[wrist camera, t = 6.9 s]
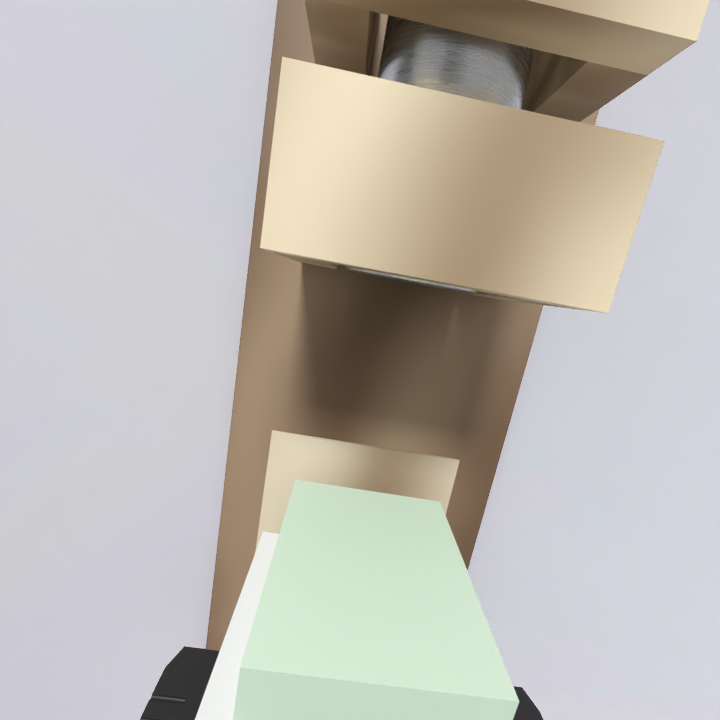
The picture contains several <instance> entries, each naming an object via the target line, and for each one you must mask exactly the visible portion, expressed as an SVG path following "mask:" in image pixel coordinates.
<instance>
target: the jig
mask: <svg viewBox="0 0 720 720" xmlns="http://www.w3.org/2000/svg"><path fill="white" fill-rule="evenodd" d="M709 2H710V0H278V3H277V12H276V21H275V30H274V39H273V48H272V58H271V67H270V76H269V85H268V94H267V103H266V112H265V121H264V130H263V139H262V148H261V157H260V166H259V175H258V184H257V193H256V202H255V211H254V220H253V229H252V238H251V247H250V256H249V265H248V274H247V283H246V292H245V301H244V310H243V319H242V328H241V337H240V346H239V355H238V364H237V373H236V382H235V391H234V401H233V410H232V419H231V428H230V437H229V446H228V455H227V464H226V473H225V482H224V491H223V500H222V509H221V518H220V527H219V536H218V545H217V554H216V563H215V572H214V581H213V590H212V599H211V608H210V617H209V626H208V635H207V644H206V649H208V650H216V651H220V649H221V646H222V643H223V641H224V638H225V635H226V632H227V630H228V627H229V624H230V621H231V619H232V616H233V613H234V610H235V608H236V605H237V602H238V599H239V597H240V594H241V591H242V588H243V586H244V583H245V580H246V577H247V575H248V572H249V569H250V566H251V563H252V561H253V558H254V555H255V552H256V550H257V547H258V544H259V541H260V539H261V536H262V533H263V532H269V533H276V534H279V533H280V530H281V526H282V523H283V519H284V516H285V513H286V509H287V506H288V502H289V499H290V496H291V492H292V489H293V485H294V482H295V480H302V481H309V482H315V483H322V484H328V485H335V486H341V487H348V488H354V489H361V490H367V491H374V492H381V493H387V494H394V495H400V496H407V497H413V498H420V499H426V500H433V501H439V502H440V503H441V505H442V508H443V510H444V513H445V515H446V518H447V520H448V523H449V525H450V528H451V531H452V533H453V536H454V538H455V541H456V543H457V546H458V548H459V551H460V553H461V556H462V558H463V561H464V563H465V566H466V568H467V570H468V566H469V563H470V559H471V556H472V552H473V549H474V545H475V542H476V538H477V535H478V531H479V528H480V524H481V521H482V517H483V514H484V510H485V507H486V503H487V500H488V496H489V493H490V489H491V486H492V482H493V479H494V475H495V472H496V468H497V465H498V461H499V458H500V454H501V451H502V447H503V444H504V440H505V437H506V433H507V430H508V426H509V423H510V419H511V416H512V412H513V409H514V405H515V402H516V398H517V395H518V391H519V388H520V384H521V381H522V377H523V374H524V370H525V367H526V363H527V360H528V356H529V353H530V349H531V346H532V342H533V339H534V335H535V332H536V328H537V325H538V321H539V318H540V314H541V311H542V307H543V305H547V306H555V307H563V308H571V309H579V310H587V311H595V312H603V313H608V312H609V309H610V306H611V303H612V300H613V297H614V294H615V291H616V287H617V284H618V281H619V278H620V275H621V272H622V269H623V266H624V263H625V260H626V257H627V254H628V251H629V248H630V244H631V241H632V238H633V235H634V232H635V229H636V226H637V223H638V220H639V217H640V214H641V211H642V208H643V205H644V201H645V198H646V195H647V192H648V189H649V186H650V183H651V180H652V177H653V174H654V171H655V168H656V165H657V161H658V158H659V155H660V152H661V149H662V146H663V143H664V141H662V140H658V139H653V138H649V137H644V136H640V135H635V134H631V133H626V132H622V131H617V130H612V129H608V128H603V127H599V126H594V125H595V122H596V118H597V115H598V111H599V109H600V108H601V107H602V106H604V105H605V104H607V103H608V102H610V101H611V100H613V99H614V98H615V97H617V96H618V95H620V94H621V93H623V92H624V91H625V90H627V89H628V88H630V87H631V86H633V85H634V84H636V83H637V82H638V81H640V80H641V79H643V78H644V77H646V76H647V75H649V74H650V73H651V72H653V71H654V70H656V69H657V68H659V67H660V66H661V65H663V64H664V63H666V62H667V61H669V60H670V59H672V58H673V57H674V56H676V55H677V54H679V53H680V52H682V51H683V50H685V49H686V48H687V47H689V46H690V45H692V44H693V43H695V42H696V41H697V39H698V35H699V32H700V29H701V26H702V23H703V20H704V17H705V14H706V11H707V8H708V5H709ZM388 15H390V16H394V17H398V18H403V19H407V20H411V21H415V22H420V23H424V24H428V25H433V26H437V27H441V28H446V29H450V30H454V31H459V32H463V33H467V34H471V35H476V36H480V37H484V38H489V39H493V40H497V41H502V42H506V43H510V44H515V45H519V46H523V47H527V48H532V49H536V51H535V55H534V59H533V63H532V68H531V72H530V76H529V80H528V84H527V88H526V92H525V96H524V100H523V104H522V108H521V109H517V108H513V107H508V106H504V105H499V104H495V103H490V102H486V101H481V100H477V99H472V98H468V97H463V96H459V95H454V94H449V93H445V92H440V91H436V90H431V89H427V88H422V87H418V86H413V85H409V84H404V83H400V82H395V81H391V80H386V79H382V78H378V73H379V67H380V61H381V55H382V49H383V43H384V37H385V31H386V25H387V19H388ZM346 266H348V267H353V268H359V269H364V270H369V271H375V272H380V273H386V274H391V275H396V276H402V277H407V278H412V279H418V280H423V281H428V282H434V283H439V284H444V285H450V286H455V287H460V288H466V289H471V290H476V291H477V292H476V293H468V292H461V291H454V290H448V289H442V288H436V287H430V286H424V285H419V284H413V283H408V282H402V281H397V280H392V279H386V278H381V277H376V276H371V275H367V274H362V273H357V272H353V271H349V270H346Z"/></svg>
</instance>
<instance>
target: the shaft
mask: <svg viewBox="0 0 720 720" xmlns="http://www.w3.org/2000/svg"><path fill="white" fill-rule="evenodd" d="M535 51H536V49H532V48H527V47H523V46H519V45H515V44H510V43H506V42H502V41H497V40H493V39H489V38H484V37H480V36H476V35H471V34H467V33H463V32H459V31H454V30H450V29H446V28H441V27H437V26H433V25H428V24H424V23H420V22H415V21H411V20H407V19H403V18H398V17H394V16H390V15H388V19H387V25H386V31H385V37H384V43H383V49H382V55H381V61H380V67H379V73H378V78H382V79H386V80H391V81H395V82H400V83H404V84H409V85H413V86H418V87H422V88H427V89H431V90H436V91H440V92H445V93H449V94H454V95H459V96H463V97H468V98H472V99H477V100H481V101H486V102H490V103H495V104H499V105H504V106H508V107H513V108H517V109H521V108H522V104H523V100H524V96H525V92H526V88H527V84H528V80H529V76H530V72H531V68H532V63H533V59H534V55H535ZM346 270H349V271H353V272H357V273H362V274H367V275H371V276H376V277H381V278H386V279H392V280H397V281H402V282H408V283H413V284H419V285H424V286H430V287H436V288H442V289H448V290H454V291H461V292H468V293H476V292H477V291H476V290H471V289H466V288H460V287H455V286H450V285H444V284H439V283H434V282H428V281H423V280H418V279H412V278H407V277H402V276H396V275H391V274H386V273H380V272H375V271H369V270H364V269H359V268H353V267H348V266H346Z"/></svg>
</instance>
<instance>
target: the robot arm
mask: <svg viewBox="0 0 720 720" xmlns="http://www.w3.org/2000/svg"><path fill="white" fill-rule="evenodd" d="M278 536H279V534H276V533H269V532H263V533H262V536H261V539H260V541H259V544H258V547H257V550H256V552H255V555H254V558H253V561H252V563H251V566H250V569H249V572H248V575H247V577H246V580H245V583H244V586H243V588H242V591H241V594H240V597H239V599H238V602H237V605H236V608H235V610H234V613H233V616H232V619H231V621H230V624H229V627H228V630H227V632H226V635H225V638H224V641H223V643H222V646H221V649H220V651H216V650H208V649H200V648H192V647H184V648H183V649H182V650H181V651H180V652H179V653H178V654H177V655H176V656H175V658H174V659H173V660H172V661H171V662H170V663H169V664H168V665H167V666H166V667H165V669H164V671H163V673H162V675H161V677H160V679H159V681H158V684H157V686H156V688H155V690H154V692H153V694H152V697H151V699H150V700H149V702H148V704H147V706H146V708H145V710H144V712H143V714H142V716H141V719H140V720H233V714H234V707H235V699H236V692H237V685H238V678H239V671H240V666H241V662H242V659H243V655H244V652H245V649H246V645H247V642H248V638H249V635H250V632H251V628H252V625H253V621H254V618H255V615H256V611H257V608H258V604H259V601H260V598H261V594H262V591H263V587H264V584H265V581H266V577H267V574H268V570H269V567H270V564H271V560H272V557H273V553H274V550H275V547H276V543H277V540H278ZM513 687H514V686H513ZM514 689H515V692H516V694H517V697H518V699H519V704H518V707H517V710H516V713H515V715H514V718H513V720H543V718H542V716H541V714H540V712H539V710H538V709H537V707H536V706H535V705H534V703H533V702H532V701H531V699H530V698H529V696H528V695H527V694H526V692H525V691H524V690H523V688H522V687H514Z"/></svg>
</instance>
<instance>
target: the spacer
mask: <svg viewBox="0 0 720 720" xmlns="http://www.w3.org/2000/svg"><path fill="white" fill-rule="evenodd" d="M518 704H519V699H518V697H517V694H516V692H515V689H514V687H513V684H512V682H511V679H510V677H509V674H508V672H507V669H506V667H505V664H504V662H503V659H502V657H501V654H500V652H499V649H498V647H497V644H496V641H495V639H494V636H493V634H492V631H491V629H490V626H489V624H488V621H487V619H486V616H485V614H484V611H483V609H482V606H481V604H480V601H479V599H478V596H477V594H476V591H475V589H474V586H473V583H472V581H471V578H470V576H469V573H468V571H467V568H466V566H465V563H464V561H463V558H462V556H461V553H460V551H459V548H458V546H457V543H456V541H455V538H454V536H453V533H452V531H451V528H450V525H449V523H448V520H447V518H446V515H445V513H444V510H443V508H442V505H441V503H440V502H439V501H433V500H426V499H420V498H413V497H407V496H400V495H394V494H387V493H381V492H374V491H367V490H361V489H354V488H348V487H341V486H335V485H328V484H322V483H315V482H309V481H302V480H295V482H294V485H293V489H292V492H291V496H290V499H289V502H288V506H287V509H286V513H285V516H284V519H283V523H282V526H281V530H280V533H279V536H278V540H277V543H276V547H275V550H274V553H273V557H272V560H271V564H270V567H269V570H268V574H267V577H266V581H265V584H264V587H263V591H262V594H261V598H260V601H259V604H258V608H257V611H256V615H255V618H254V621H253V625H252V628H251V632H250V635H249V638H248V642H247V645H246V649H245V652H244V655H243V659H242V662H241V666H240V671H239V678H238V685H237V692H236V699H235V707H234V714H233V720H513V718H514V715H515V713H516V710H517V707H518Z"/></svg>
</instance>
